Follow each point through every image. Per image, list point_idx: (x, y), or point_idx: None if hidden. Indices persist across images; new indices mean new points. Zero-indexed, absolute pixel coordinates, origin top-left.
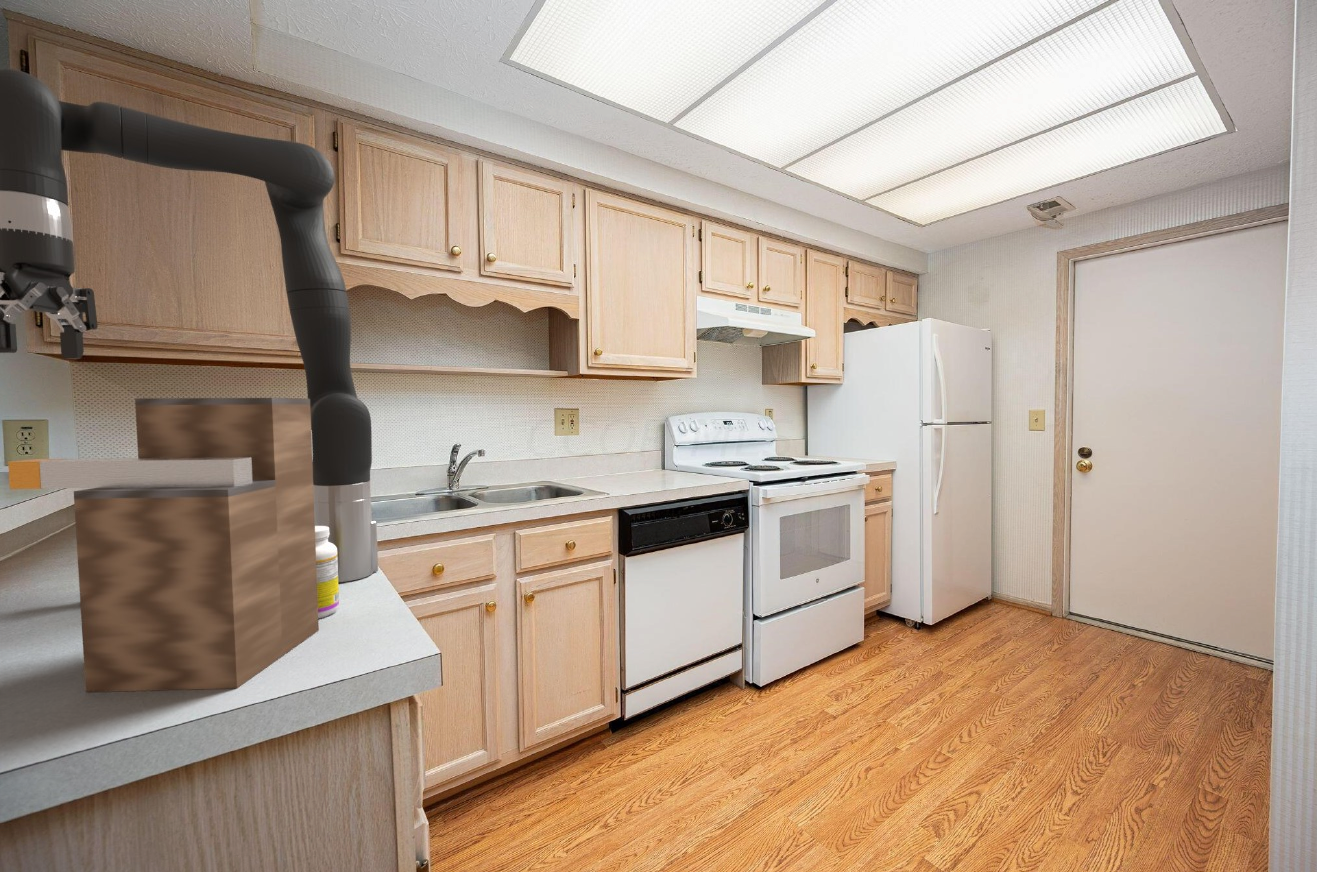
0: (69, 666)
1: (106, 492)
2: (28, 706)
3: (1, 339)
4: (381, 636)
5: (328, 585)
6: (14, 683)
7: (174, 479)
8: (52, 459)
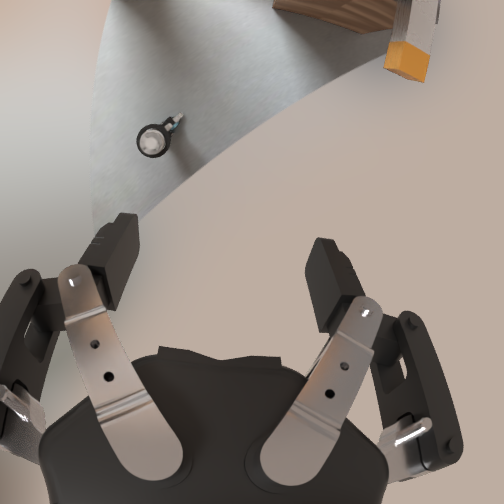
0: (318, 59)
1: (439, 3)
2: (371, 53)
3: (352, 266)
4: None
5: None
6: (337, 76)
7: None
8: (409, 51)
